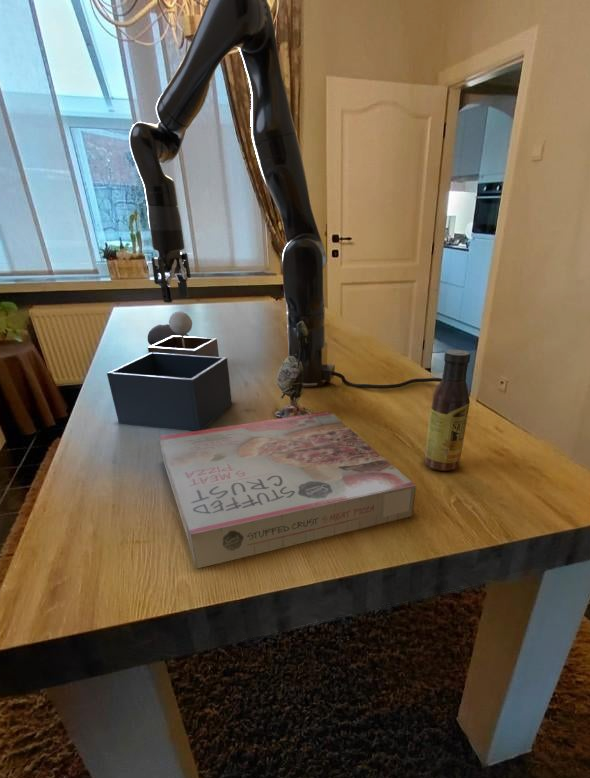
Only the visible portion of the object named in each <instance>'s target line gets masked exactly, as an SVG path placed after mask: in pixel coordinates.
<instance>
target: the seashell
mask: <svg viewBox="0 0 590 778" xmlns="http://www.w3.org/2000/svg"><path fill="white" fill-rule="evenodd" d="M171 336H182V335H179V334H176V333H175V332H174V331H173V330H172V329H171V328H170V325H169V323H167V324H157V325H155V326H154V327H152V328H151V329H150V330H149V331H148V334H147V343H148V344H149V346H151V345H153V344H156V343H158V342H160V341H162V340H164V339H166V338H169V337H171ZM183 336H187V337H191V336H190V335H189V334H188V333H187V334H184V335H183Z"/></svg>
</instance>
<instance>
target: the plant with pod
mask: <svg viewBox="0 0 590 778" xmlns="http://www.w3.org/2000/svg"><path fill="white" fill-rule="evenodd" d="M296 328H297V329H296V330H297V337H298V340H299V345H300V350H299V357H298V359H297V358H296V357H294V356H289V355H288V356H287V357H286V358H285V360H283V362H282V363H281V365H280V368H279V369H278V372H277V377H276V384H277V385H278V387H279V389H280V390H281V393H282V395H281V397H280V398H281V399H284V397H285V396H287V397H289V403H290V404H287V405H284V406H283V408H282V409H278V410H276V411H274V412H273V414H275V416H276V417H278V418H287V417H294V416H300V415H307V414H312V412H311V410H309V409H308V408H306V407H305V406H304V405H303V404H299V401H300V399H301V397H302V395H303V392H304V391H303V390H304V387H303V379H304V376H303V375H304V374H303V371H304V369H303V366H302V364H301V362H300V351H301V345H302V340H305V342H306V343H308V342H307V339H306V337H307V336H308V331H307V328H306V325H305V324H304V322H303V321H300V322H299V323H298V324H297V326H296ZM295 355H297V354H295Z"/></svg>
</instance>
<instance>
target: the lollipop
mask: <svg viewBox="0 0 590 778" xmlns="http://www.w3.org/2000/svg"><path fill="white" fill-rule="evenodd" d="M168 325H170V328H171V329H172V330H173V331H174V332H175V333H176V334H179V335H182V342H183V349H185V344H184V337H183V335H184V334H187V335H188V333H190V331H191V330H192V327H193V320H192V319H191V316H190V315H189V314H187V312H185V311H182V310H177V311H174V312H172V313H171V315H170V316H169V318H168Z"/></svg>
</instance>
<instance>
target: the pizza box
mask: <svg viewBox="0 0 590 778" xmlns="http://www.w3.org/2000/svg"><path fill="white" fill-rule="evenodd" d="M158 439H159V444H160V449H161V454H162V460H163V464H164V467H165V471H166V474H167V477H168V481H169V484H170V486H171V490H172V493H173V497H174V500H175V503H176V506H177V511H178V513H179V516H180V519H181V524H182V525H183V528H184V532H185V535H186V539H187V542H188V545H189V548H190V552H191V555H192V558H193V562H194V565H195V568H196V569H201V568H206V567H209V566H213V565H218V564H222V563H225V562H231V561H234V560H238V559H243V558H246V557H251V556H254V555H258V554H263V553H267V552H271V551H276V550H279V549H283V548H284V549H285V548H288V547H292V546H296V545H300V544H304V543H308V542H313V541H316V540H321V539H325V538H329V537H333V536H337V535H341V534H345V533H350V532H353V531H358V530H363V529H367V528H370V527H375V526H379V525H383V524H386V523H391V522H395V521H398V520H403V519H408V518H411V517H413V513H414V504H415V496H416V487H417V485H416V484H414V482H413V481H412V480H411V479H409V478H408V477H407V476H405V474H404V473H402V472H401V471H400V470H399V469H397V468H396V466H394V465H393V464H392V463H390V462H389V461H388V460H387V459H386V458H384V457H383V456H382V455H381V454H380V453H379V452H378V451H377V450H375V449H374V448H373V447H372V446H371V445H369V443H367V442H366V441H365V440H364V439H363V438H362V437H360V436H359V435H358V434H357V433H356V432H354V430H352V429H351V428H350V427H349V426H348V425H347V424H345V423H344V422H343V421H341V419H340V418H338V416H336V415H335V414H334V413H332V412H331V410H329V411H328V410H327V411H321V412H315V413H311V414H307V415H300V416H294V417H287V418H283V417H279V418H273V419H266V420H261V421H254V422H247V423H241V424H234V425H227V426H226V425H225V426H220V427H212V428H207V429H202V430H199V431H192V430H191V431H186V432H179V433H173V434H166V435H160V436H158Z"/></svg>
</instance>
